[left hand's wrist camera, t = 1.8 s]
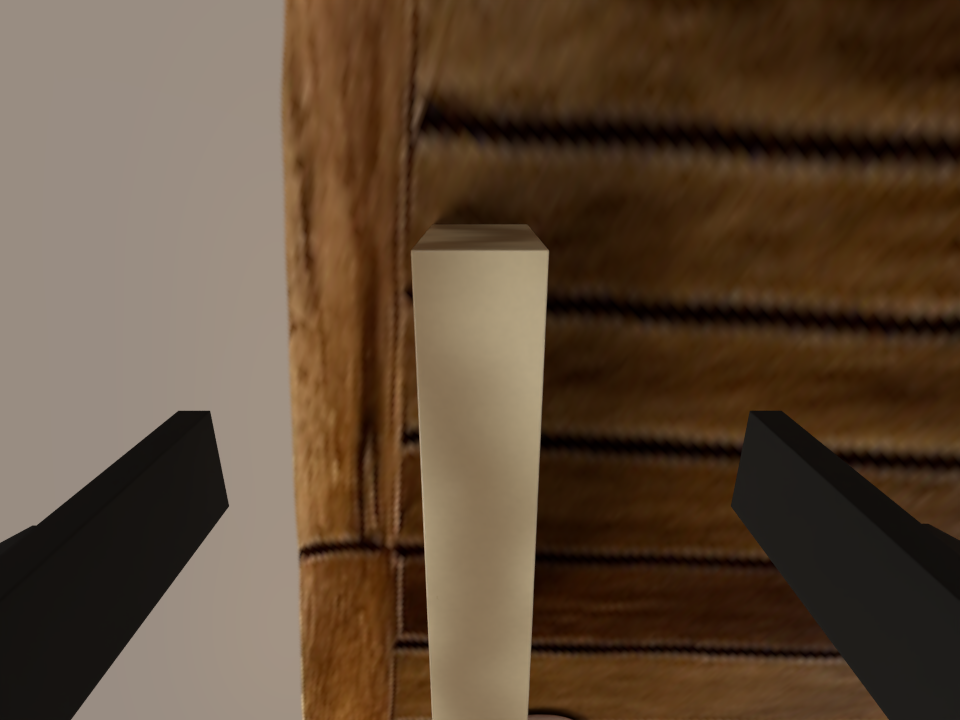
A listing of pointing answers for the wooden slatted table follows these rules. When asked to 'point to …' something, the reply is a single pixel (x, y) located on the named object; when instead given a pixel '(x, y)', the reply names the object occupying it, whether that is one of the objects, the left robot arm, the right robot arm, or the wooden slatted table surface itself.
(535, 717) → the anatomical model
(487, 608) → the birch rail
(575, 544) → the wooden slatted table surface
